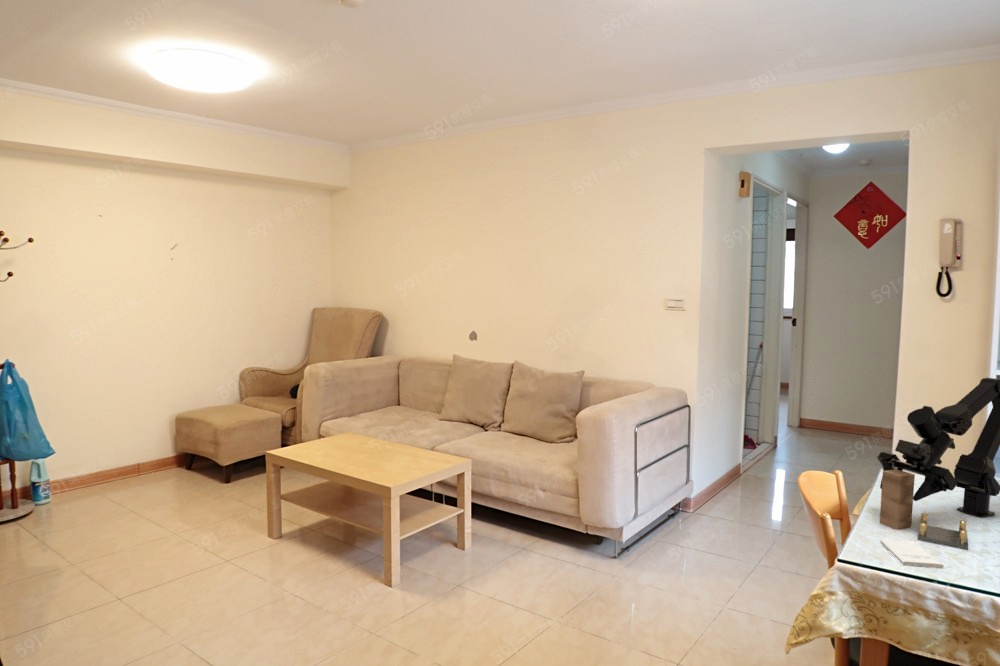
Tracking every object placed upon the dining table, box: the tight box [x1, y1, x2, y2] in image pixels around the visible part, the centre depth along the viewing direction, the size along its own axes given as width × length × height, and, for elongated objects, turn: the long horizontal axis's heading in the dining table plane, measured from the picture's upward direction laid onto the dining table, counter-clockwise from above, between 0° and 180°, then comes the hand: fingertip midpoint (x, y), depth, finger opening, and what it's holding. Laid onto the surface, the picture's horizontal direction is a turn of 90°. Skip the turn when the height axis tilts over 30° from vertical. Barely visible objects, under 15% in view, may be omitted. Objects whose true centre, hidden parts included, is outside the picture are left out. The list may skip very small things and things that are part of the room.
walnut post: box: [879, 469, 916, 531], centre depth 166 cm, size 5×5×14 cm
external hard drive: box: [879, 539, 944, 569], centre depth 148 cm, size 2×8×12 cm
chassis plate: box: [916, 513, 969, 551], centre depth 158 cm, size 10×10×4 cm
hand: (897, 494), depth 166 cm, fingers open, 9 cm apart
